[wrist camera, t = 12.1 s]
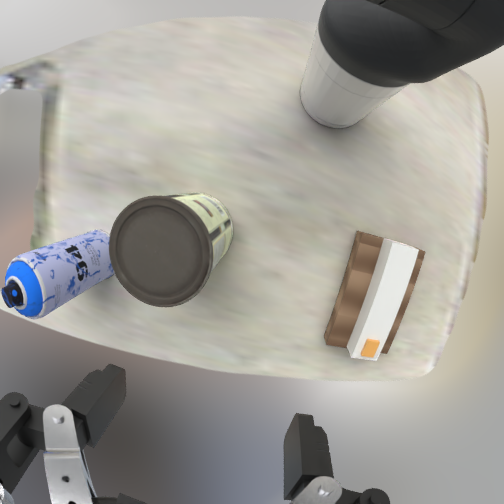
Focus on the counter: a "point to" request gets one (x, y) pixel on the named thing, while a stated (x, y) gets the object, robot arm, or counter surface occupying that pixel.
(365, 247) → the mounting board
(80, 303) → the counter surface
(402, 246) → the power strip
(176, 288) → the coffee can
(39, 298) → the aerosol can
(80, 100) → the counter surface
